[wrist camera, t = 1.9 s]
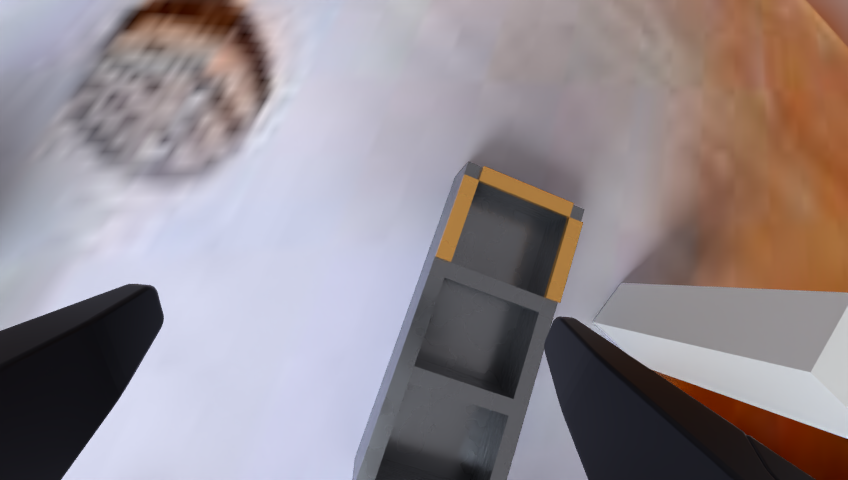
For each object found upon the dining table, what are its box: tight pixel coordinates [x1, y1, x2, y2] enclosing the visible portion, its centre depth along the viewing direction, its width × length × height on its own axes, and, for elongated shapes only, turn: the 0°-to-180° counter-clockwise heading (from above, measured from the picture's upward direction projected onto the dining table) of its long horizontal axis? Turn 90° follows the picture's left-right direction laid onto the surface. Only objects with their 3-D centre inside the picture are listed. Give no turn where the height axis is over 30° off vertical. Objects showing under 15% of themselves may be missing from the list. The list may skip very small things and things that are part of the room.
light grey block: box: [593, 283, 848, 439], centre depth 19 cm, size 4×5×12 cm
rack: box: [352, 162, 584, 480], centre depth 21 cm, size 20×8×4 cm, turn 160°
